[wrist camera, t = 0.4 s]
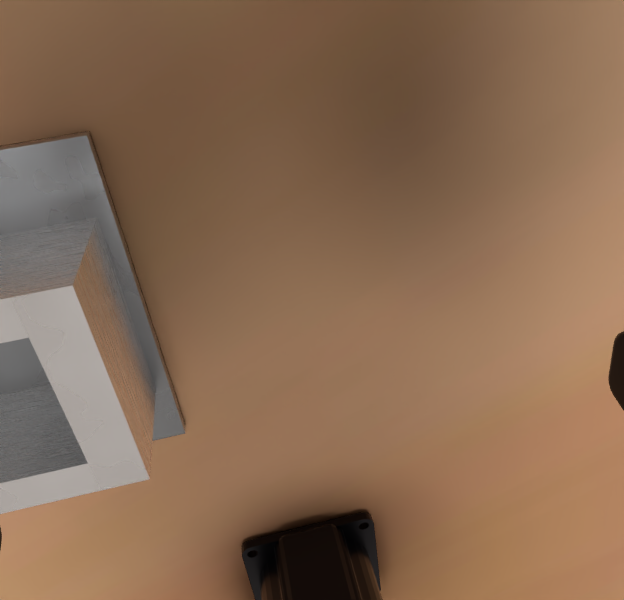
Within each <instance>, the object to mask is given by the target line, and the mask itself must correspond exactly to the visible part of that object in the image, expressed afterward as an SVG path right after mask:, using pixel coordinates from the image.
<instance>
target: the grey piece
mask: <svg viewBox="0 0 624 600" xmlns="http://www.w3.org/2000/svg"><path fill="white" fill-rule="evenodd" d="M92 218H97V220H98V223H99V226H100V228H101V231H102V234H103V237H104V240H105V243H106V246H107V249H108V251H109V254H110V257H111V260H112V263H113V266H114V269H115V272H116V274H117V277H118V280H119V283H120V286H121V289H122V292H123V295H124V297H125V300H126V303H127V306H128V309H129V312H130V315H131V318H132V320H133V323H134V326H135V329H136V332H137V335H138V338H139V341H140V343H141V346H142V349H143V352H144V355H145V358H146V361H147V364H148V366H149V369H150V372H151V375H152V378H153V381H154V384H155V387H156V397H155V411H154V425H153V440H158V439H162V438H167V437H171V436H175V435H180V434H184V433H185V423H184V420H183V417H182V414H181V411H180V408H179V404H178V401H177V398H176V395H175V392H174V389H173V386H172V383H171V380H170V377H169V374H168V371H167V368H166V365H165V362H164V359H163V356H162V352H161V349H160V346H159V343H158V340H157V337H156V334H155V331H154V328H153V325H152V322H151V319H150V316H149V313H148V310H147V307H146V304H145V301H144V297H143V294H142V291H141V288H140V285H139V282H138V279H137V276H136V273H135V270H134V267H133V264H132V261H131V258H130V255H129V252H128V249H127V245H126V242H125V239H124V236H123V233H122V230H121V227H120V224H119V221H118V218H117V215H116V212H115V209H114V206H113V203H112V200H111V197H110V194H109V190H108V187H107V184H106V181H105V178H104V175H103V172H102V169H101V166H100V163H99V160H98V157H97V154H96V151H95V148H94V145H93V142H92V139H91V135H90V132H89V131H87V132H81V133H75V134H70V135H64V136H58V137H52V138H46V139H40V140H35V141H29V142H23V143H17V144H11V145H5V146H0V235H6V234H11V233H16V232H22V231H27V230H33V229H38V228H43V227H49V226H54V225H59V224H65V223H70V222H75V221H81V220H86V219H92ZM48 384H50V382H49V379H48V377H47V375H46V373H45V371H44V369H43V367H42V365H41V362H40V360H39V358H38V356H37V354H36V352H35V350H34V348H33V345H32V343H31V341H30V339H29V338H25V339H20V340H15V341H10V342H5V343H0V395H1V394H6V393H10V392H15V391H20V390H24V389H29V388H34V387H38V386H43V385H48ZM153 440H152V441H153Z"/></svg>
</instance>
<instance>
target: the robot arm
mask: <svg viewBox="0 0 624 600" xmlns="http://www.w3.org/2000/svg"><path fill="white" fill-rule="evenodd" d="M609 385H610V389H611V391H612V393H613V395H614V397H615V398H616V400H617V401H618V403H619V404H620V406H621V407H622V409H623V410H624V331H623V332H621V333H619V334H618V335H617V336H616V338H615V340H614V345H613V351H612V358H611V364H610V371H609ZM1 540H2V534H1V527H0V549H1ZM242 557H243V561H244V564H245V567H246V570H247V574H248V577H249V580H250V583H251V587H252V590H253V593H254V596H255V600H382V596H381V593H380V590H381V588H380V578H379V569H378V559H377V550H376V540H375V530H374V523H373V520H372V517H371V515H370V514H369V513H366V512H363V513H358V514H354V515H350V516H346V517H342V518H337V519H333V520H329V521H325V522H321V523H317V524H313V525H309V526H305V527H301V528H297V529H293V530H289V531H285V532H281V533H277V534H273V535H269V536H265V537H261V538H257V539H253V540H249V541H247V542H245V543H244V544H243V545H242Z"/></svg>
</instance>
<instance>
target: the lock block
mask: <svg viewBox="0 0 624 600" xmlns="http://www.w3.org/2000/svg"><path fill="white" fill-rule="evenodd" d="M25 338H29V339H30V341H31V343H32V345H33V348H34V350H35V352H36V354H37V356H38V358H39V360H40V362H41V365H42V367H43V369H44V371H45V373H46V375H47V377H48V379H49V382H50V384H48V385H43V386H38V387H34V388H29V389H24V390H20V391H15V392H10V393H6V394H1V395H0V514H2V513H7V512H11V511H15V510H20V509H24V508H28V507H32V506H37V505H41V504H45V503H50V502H54V501H58V500H62V499H67V498H71V497H75V496H80V495H84V494H88V493H92V492H97V491H101V490H105V489H110V488H114V487H118V486H122V485H127V484H131V483H135V482H140V481H144V480H148V479H150V468H151V454H152V440H153V425H154V411H155V397H156V387H155V384H154V381H153V378H152V375H151V372H150V369H149V366H148V364H147V361H146V358H145V355H144V352H143V349H142V346H141V343H140V341H139V338H138V335H137V332H136V329H135V326H134V323H133V320H132V318H131V315H130V312H129V309H128V306H127V303H126V300H125V297H124V295H123V292H122V289H121V286H120V283H119V280H118V277H117V274H116V272H115V269H114V266H113V263H112V260H111V257H110V254H109V251H108V249H107V246H106V243H105V240H104V237H103V234H102V231H101V228H100V226H99V223H98V220H97V218H92V219H86V220H81V221H75V222H70V223H65V224H59V225H54V226H49V227H43V228H38V229H33V230H27V231H22V232H16V233H11V234H6V235H0V343H5V342H10V341H15V340H20V339H25Z"/></svg>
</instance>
